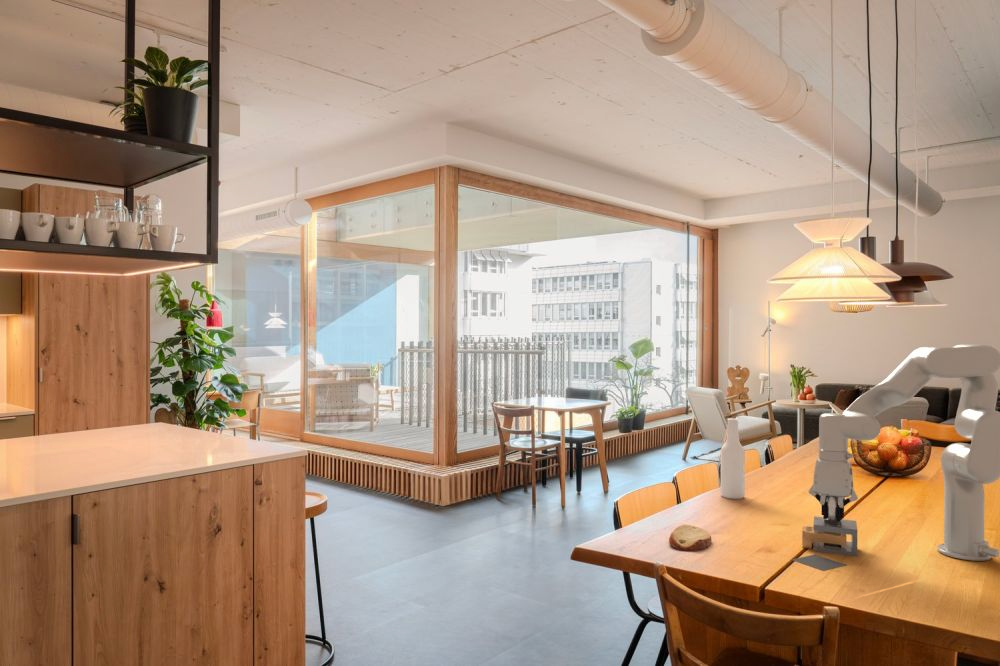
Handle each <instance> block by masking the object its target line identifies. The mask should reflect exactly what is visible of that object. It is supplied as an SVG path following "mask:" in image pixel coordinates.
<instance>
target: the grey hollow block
mask: <svg viewBox="0 0 1000 666" xmlns="http://www.w3.org/2000/svg"><path fill="white" fill-rule="evenodd" d="M801 533H802V536H801V537H802V540H801V541H802V542H801V545H802V546H801V547H802V548H804V549H812V547H813V552H817V553H824V554H831V555H840V556H845V557H846V556H847V557H848V556H849V557H855V558H858V525H857V520H850V519H844V518H842V520H841V521H838V525H833V524H827V519H823V516H816V515H815V516H814V517H813V526H810V525H809V526H808V525H807V526H802V531H801ZM847 535H848V536H849V535H850V536H851V541H847Z"/></svg>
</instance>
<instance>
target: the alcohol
mask: <svg viewBox="0 0 1000 666" xmlns="http://www.w3.org/2000/svg"><path fill="white" fill-rule="evenodd" d="M726 424H727V430H726V440H725V442H724V444H723V445H722V446H721V449H720V495H721V497H723V498H725V499H731V500H740V499H743V498H744V497H745V492H746V491H745V489H746V487H745V485H746V480H745V478H746V477H745V475H746V470H745V469H746V460H745V459H746V453H745V448H744V446H743V445H742V444H741V442H740V435H739V433H740V432H739V419H738V418H735V417H729V418H727V423H726Z"/></svg>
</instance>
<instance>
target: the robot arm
mask: <svg viewBox="0 0 1000 666" xmlns="http://www.w3.org/2000/svg"><path fill="white" fill-rule="evenodd" d="M999 370H1000V351H999V350H998V349H997V348H995V347H994V346H991V345H988V344H972V343H971V344H970V343H961V344H956V345H954V346H952V347H951V346H950V347H949V346H947V347H939V346H921V347H918V348H916V349H914V350H913V351H911V353H909V354H908V356H907V357H906V358H904V359H903V360H902V361H901V363H900V364H898V365H897V367H896V368H895V369H894V370H893V371H891V372H890V374H889V375H887V377H885V379H884V380H882V381H881V382H879V383H878V384H876V385H874V386H873V387H872V388H870V389H868V390H867V391H866V392H864V393H862V394H860V396H859V397H857V398H856V399H855V400H854V401H853V402H852V403H851V404H850V405H849V406H848V407H847V408H846V409H845V410H844V411H843V412H842V413H838V412H837V413H835V412H826V413H825V412H824V413H821V414H820V415H819V417H818V418H819V419H818V423H819V424H818V427H819V428H818V458H817V459H816V461H815V465H814V473H813V483H812V485H811V487H810V488H809V490H808V494H810V495H811V496H813V497H814V498H815V499H816V500H817V501H818V502H819V504H820V506H821V515H822V517H823V519H827V495H831V496H838V501H839V504H838V507H837V521H841V520H842V519H844V518H845V506H846V505H848V504H850V503H852V502H856V501H857V500H859V497H858V495H857V493H856V491H855V490H854V488H855V487H854V473H853V467H852V463H851V461H850V459H854V454H853V453H850V452H849V450H848V447H849V441H848V440H849V439H850V440H858V441H862V442H868V441H872V440H875V439H876V438H877V437H878V436H879V435H880V433H881V428H882V427H881V423H879V421H878V420H877V419H876V418H875V417H877V416H878V415H879V414H880V413H883V412H884V411H886V410H888V409H891V408H894V407H897V406H901V405H904V404H905V403H908V402H909V401H911V400H912V399H913V398H914V397H915V396H916V395H917V394H918V393H919V392H920V391H921V390H922V388H924V387H925V386H926V385H927V384H928V383H929V382H930V381H932V379H933V378H938V379H952V378H953V379H954V378H955V379H957V378H959V381H960V384H961V391H960V397H959V402H958V407H957V410H956V414H955V415H956V416H955V420H954V429H955V431H956V433H957V435H959V436H961V437H962V438H964V439H968V440H970V441H971V443H966V442H965V443H964V442H955V443H951V444H949V445H948V446H946V447H945V448H944V449H943V451H942V453H941V457H940V458H941V459H940V462H941V470H942V475H943V482H944V483H943V485H944V486H943V487H944V495H943V496H944V497H943V498H944V499H943V502H944V503H943V504H944V505H943V508H944V509H943V513H944V514H943V517H944V518H943V541H944V542H943V543H941V544H938V545H937V551H938V552H939V553H940V554H942V555H945V556H947V557H950V558H951V557H952V558H955V559H959V560H965V561H966V560H967V561H971V562H972V561H973V562H974V561H975V562H977V561H978V562H983V561H988V560H989V561H990V560H991V559H992V557H994V558H999V557H1000V551H999V549H998V548H997V547H990V545H989V541H987V540H985V500H986V499H985V495H986V494H985V488H984V485H986V484H987V485H989V484H993V483H995V482H996V481H998V480H999V479H1000V411H998V410H996V408H997V407H996V406H997V401H998V393H999V387H998V382H997V379H996V376H995V373H996V372H998V371H999ZM848 460H849V461H848Z"/></svg>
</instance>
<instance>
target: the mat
mask: <svg viewBox="0 0 1000 666" xmlns="http://www.w3.org/2000/svg"><path fill="white" fill-rule="evenodd" d="M791 561H793V562H796V563H798V564H802V565H805V566H808V567H810V568H813V569H816V570H819V571H822V572H825V571H830V570H832V569H833V570H834V569H838V568H842V567H846V566H847V564H846V563H844V562H841V561H840V562H839V561H836V560H834V559H830V558H828V557H825V556H821V555H820V554H819V555H818V554H810V555H806V556H802V557H798V558H793V559H791Z"/></svg>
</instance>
